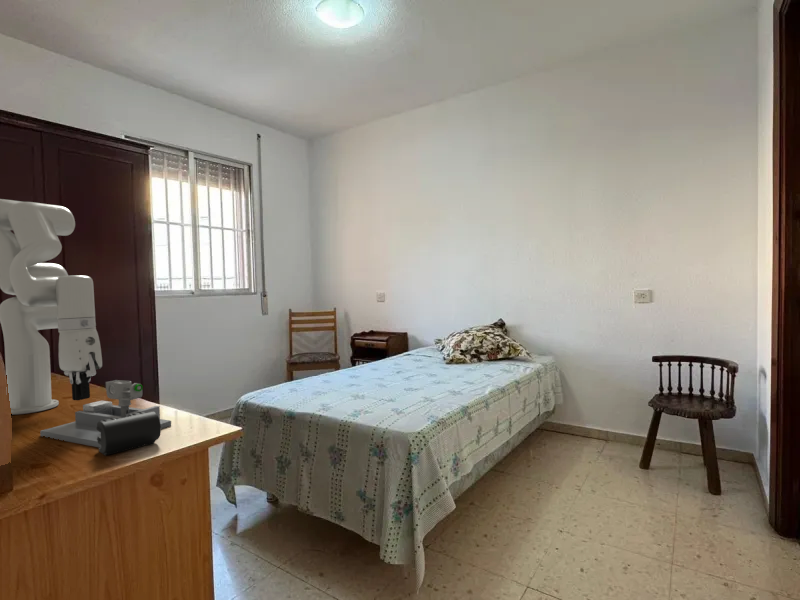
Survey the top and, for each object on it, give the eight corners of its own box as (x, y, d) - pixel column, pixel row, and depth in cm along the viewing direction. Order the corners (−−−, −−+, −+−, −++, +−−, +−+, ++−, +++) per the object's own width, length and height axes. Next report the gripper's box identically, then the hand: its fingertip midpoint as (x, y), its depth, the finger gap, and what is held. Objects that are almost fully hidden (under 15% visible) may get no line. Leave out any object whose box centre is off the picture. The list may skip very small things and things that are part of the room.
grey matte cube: (83, 421, 106) (82, 404, 106) (102, 416, 110) (101, 400, 110) (94, 423, 104) (93, 406, 104) (112, 417, 108) (112, 401, 108)
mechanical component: (134, 428, 100) (133, 384, 99) (104, 424, 104) (102, 382, 103) (146, 424, 103) (145, 382, 102) (116, 420, 106) (115, 379, 106)
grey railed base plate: (40, 436, 100) (39, 413, 99) (111, 416, 114) (110, 396, 114) (103, 448, 91) (102, 423, 91) (171, 425, 106) (170, 404, 105)
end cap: (106, 460, 85) (105, 425, 84) (95, 452, 89) (94, 418, 89) (161, 445, 92) (160, 413, 92) (148, 438, 97) (147, 408, 97)
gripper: (112, 323, 109) (116, 397, 110) (74, 324, 115) (78, 394, 116) (80, 326, 103) (84, 404, 103) (42, 327, 108) (46, 401, 109)
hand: (81, 398), depth 109 cm, fingers closed
